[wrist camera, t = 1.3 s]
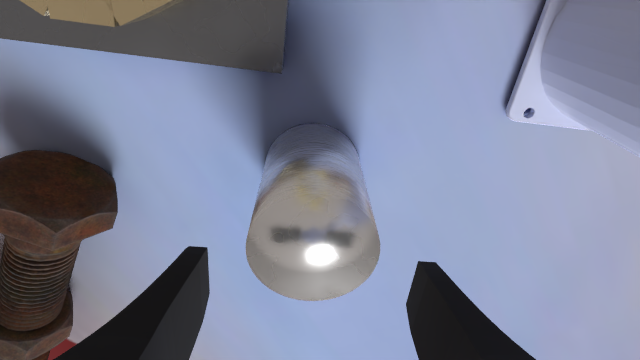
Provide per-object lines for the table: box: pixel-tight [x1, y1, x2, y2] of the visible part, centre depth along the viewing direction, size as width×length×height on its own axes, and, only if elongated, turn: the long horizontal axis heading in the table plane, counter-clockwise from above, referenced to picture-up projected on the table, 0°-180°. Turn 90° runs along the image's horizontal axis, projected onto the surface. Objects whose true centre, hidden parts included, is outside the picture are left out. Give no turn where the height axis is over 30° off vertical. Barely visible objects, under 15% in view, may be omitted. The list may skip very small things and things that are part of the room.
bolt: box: [0, 150, 118, 360], centre depth 21 cm, size 6×5×15 cm
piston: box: [246, 123, 380, 301], centre depth 17 cm, size 5×5×7 cm
